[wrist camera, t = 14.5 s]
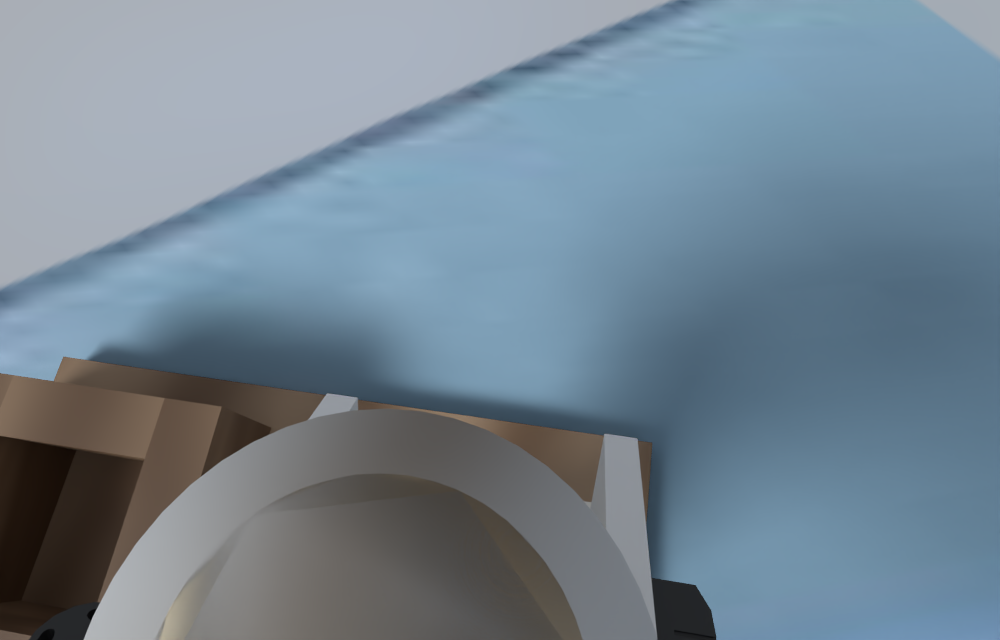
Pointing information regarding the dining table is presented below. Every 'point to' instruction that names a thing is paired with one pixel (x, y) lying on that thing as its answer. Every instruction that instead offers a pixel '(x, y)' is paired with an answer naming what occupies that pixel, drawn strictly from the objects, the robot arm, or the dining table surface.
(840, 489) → the dining table surface
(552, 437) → the socket board
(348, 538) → the capped plug
